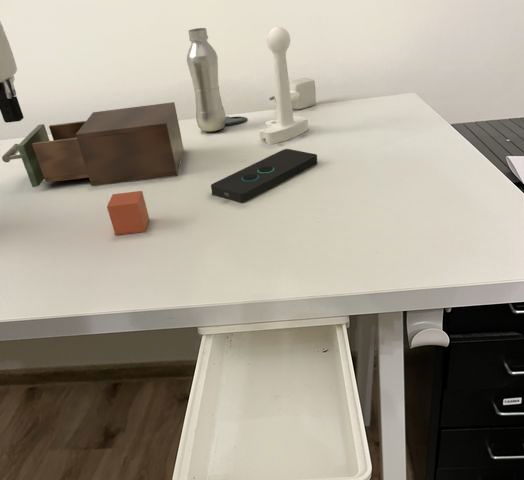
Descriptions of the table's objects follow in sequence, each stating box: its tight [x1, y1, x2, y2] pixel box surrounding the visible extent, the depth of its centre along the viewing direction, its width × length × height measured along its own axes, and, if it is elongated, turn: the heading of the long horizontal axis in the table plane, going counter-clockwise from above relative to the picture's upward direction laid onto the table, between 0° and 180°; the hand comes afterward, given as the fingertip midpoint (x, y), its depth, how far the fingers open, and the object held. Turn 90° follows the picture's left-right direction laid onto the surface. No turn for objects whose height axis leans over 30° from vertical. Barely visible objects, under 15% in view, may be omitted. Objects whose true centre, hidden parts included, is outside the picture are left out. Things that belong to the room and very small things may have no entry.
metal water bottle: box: [186, 27, 227, 132], centre depth 118 cm, size 6×7×20 cm
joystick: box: [258, 26, 309, 145], centre depth 110 cm, size 11×8×20 cm
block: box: [106, 190, 150, 236], centre depth 86 cm, size 5×5×5 cm
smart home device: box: [210, 148, 318, 204], centre depth 97 cm, size 8×2×20 cm
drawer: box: [1, 120, 89, 188], centre depth 108 cm, size 21×13×8 cm, turn 92°
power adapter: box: [268, 77, 317, 110], centre depth 129 cm, size 11×5×6 cm, turn 122°
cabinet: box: [76, 101, 185, 187], centre depth 107 cm, size 17×15×10 cm
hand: (14, 120), depth 103 cm, fingers closed
